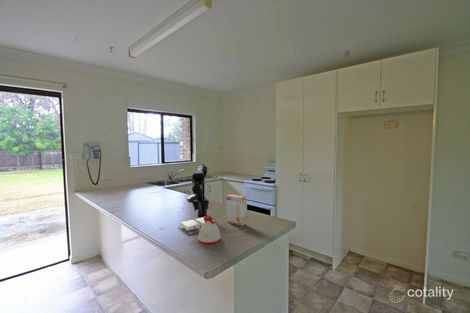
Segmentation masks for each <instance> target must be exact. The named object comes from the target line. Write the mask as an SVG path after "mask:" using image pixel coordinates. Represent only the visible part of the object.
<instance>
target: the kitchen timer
mask: <svg viewBox="0 0 470 313" xmlns="http://www.w3.org/2000/svg"><path fill="white" fill-rule="evenodd" d="M203 218H204V221H205V223H204V224H203V225H202V226H201V228H200V231H199V233H198V236H197V241H198V242H199V243H200V244H201V245H207V246H208V245H215V244H218V243H220V242H221V240H222V238H221V236H222V235H221V232H220V229H219V226H218V225H217V224H216V220H214V218H212V216H211V215H210V216H209V215H207V216H205V217H203ZM213 220H214V221H213Z"/></svg>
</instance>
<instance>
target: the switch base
mask: <svg viewBox="0 0 470 313" xmlns="http://www.w3.org/2000/svg"><path fill="white" fill-rule="evenodd" d="M177 228H178V229H179V230H180V231H181V232H183V233H184V234H185V235H187V236H191V235H194V234H197V233H198V234H199V231H200V228H201V226H200V228H196V229H192V230H186V229H185V228H183V227H182V226H181V225H180V226H178V227H177Z"/></svg>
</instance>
